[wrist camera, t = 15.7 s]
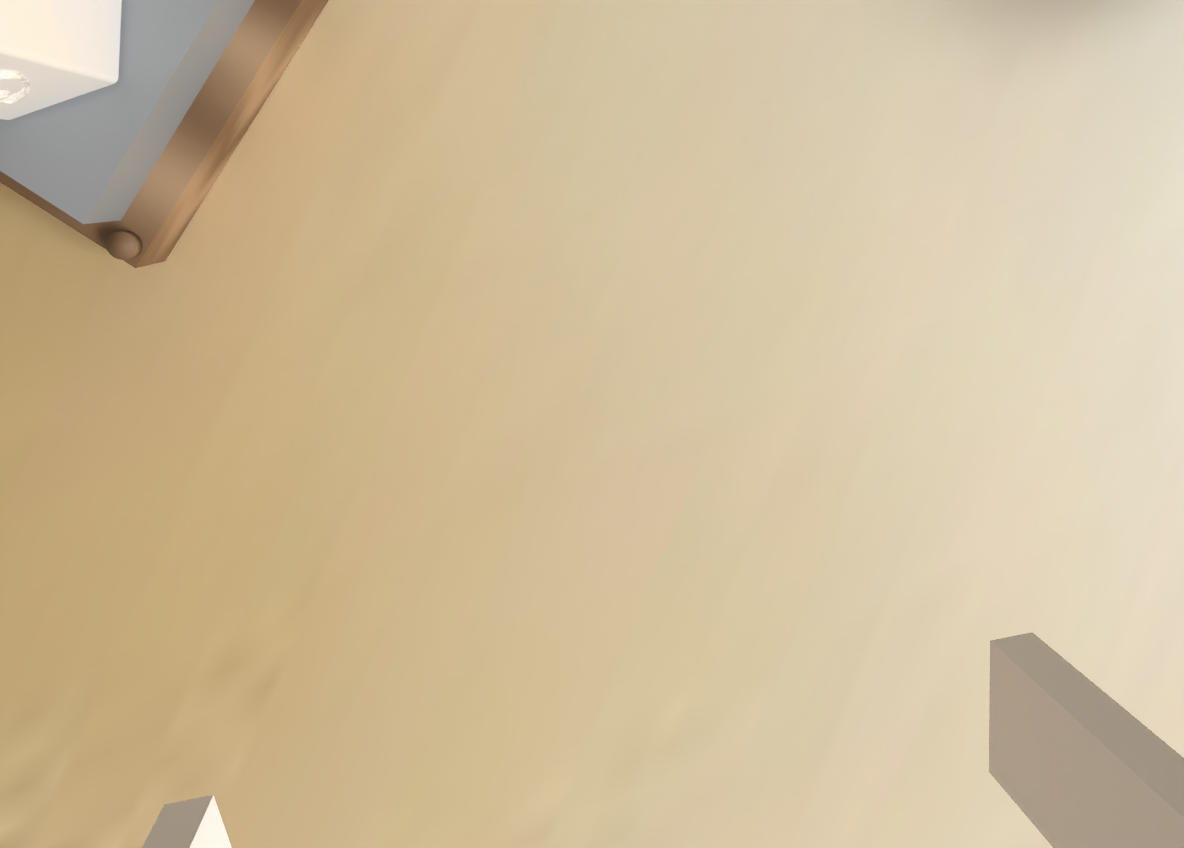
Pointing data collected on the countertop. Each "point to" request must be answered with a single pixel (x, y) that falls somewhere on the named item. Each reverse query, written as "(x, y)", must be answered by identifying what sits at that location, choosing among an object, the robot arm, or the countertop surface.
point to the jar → (56, 51)
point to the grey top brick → (121, 110)
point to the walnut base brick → (201, 135)
